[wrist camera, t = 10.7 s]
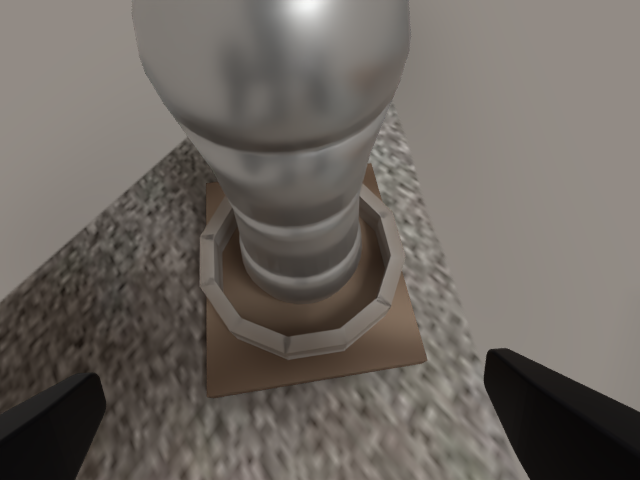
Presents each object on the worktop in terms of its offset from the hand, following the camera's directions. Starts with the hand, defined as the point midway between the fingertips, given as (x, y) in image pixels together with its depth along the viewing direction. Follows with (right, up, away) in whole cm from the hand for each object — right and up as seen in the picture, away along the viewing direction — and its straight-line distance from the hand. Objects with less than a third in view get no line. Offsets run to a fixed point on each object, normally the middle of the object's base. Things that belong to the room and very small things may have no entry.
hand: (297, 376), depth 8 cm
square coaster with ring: (-1, +1, +15) cm, 15 cm away
